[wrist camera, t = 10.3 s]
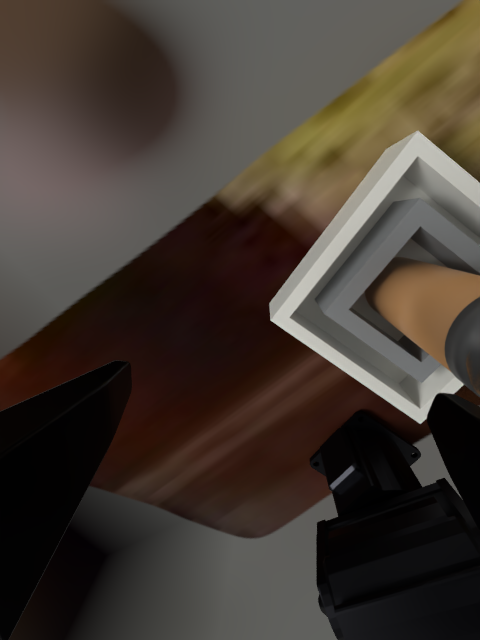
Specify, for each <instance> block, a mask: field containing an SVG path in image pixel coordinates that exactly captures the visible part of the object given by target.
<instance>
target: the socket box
mask: <svg viewBox="0 0 480 640" xmlns="http://www.w3.org/2000/svg"><path fill="white" fill-rule="evenodd" d="M395 257H405V258H410V259H414V260H418V261H422V262H426V263H431V264H435V265H439V266H443V267H447V268H451V269H455V270H459V271H463V272H467V273H472V274H476V275H480V183H479V182H478V181H477V180H476V179H475V178H474V177H472V176H471V175H470V174H469V173H468V172H466V171H465V170H464V169H463V168H462V167H460V166H459V165H458V164H457V163H456V162H454V161H453V160H452V159H451V158H450V157H449V156H447V155H446V154H445V153H444V152H443V151H441V150H440V149H439V148H438V147H437V146H435V145H434V144H433V143H432V142H431V141H430V140H428V139H427V138H426V137H425V136H424V135H422V134H421V133H420V132H419V131H416V132H414V133H413V134H411V135H409V136H407V137H406V138H404V139H402V140H401V141H399V142H397V143H396V144H394V145H392V146H390V147H389V148H387V149H386V150H385V151H384V153H383V154H382V155H381V157H380V158H379V159H378V161H377V162H376V163H375V165H374V166H373V167H372V169H371V170H370V171H369V172H368V174H367V175H366V176H365V178H364V179H363V180H362V182H361V183H360V184H359V186H358V187H357V188H356V190H355V191H354V192H353V194H352V195H351V196H350V198H349V199H348V200H347V202H346V203H345V204H344V205H343V207H342V208H341V209H340V211H339V212H338V213H337V215H336V216H335V217H334V219H333V220H332V221H331V223H330V224H329V225H328V227H327V228H326V229H325V231H324V232H323V233H322V235H321V236H320V237H319V239H318V240H317V241H316V242H315V244H314V245H313V246H312V248H311V249H310V250H309V252H308V253H307V254H306V256H305V257H304V258H303V260H302V261H301V262H300V264H299V265H298V266H297V268H296V269H295V270H294V272H293V273H292V274H291V275H290V277H289V278H288V279H287V281H286V282H285V283H284V285H283V286H282V287H281V289H280V290H279V291H278V293H277V294H276V295H275V297H274V298H273V299H272V301H271V302H270V303H269V305H270V319H271V321H272V322H274V323H275V324H277V325H278V326H279V327H281V328H282V329H284V330H285V331H287V332H288V333H290V334H291V335H292V336H294V337H295V338H297V339H298V340H300V341H301V342H303V343H304V344H305V345H307V346H308V347H310V348H311V349H313V350H314V351H316V352H317V353H318V354H320V355H321V356H323V357H324V358H326V359H327V360H329V361H330V362H331V363H333V364H334V365H336V366H337V367H339V368H340V369H342V370H343V371H345V372H346V373H347V374H349V375H350V376H352V377H353V378H355V379H356V380H358V381H359V382H360V383H362V384H363V385H365V386H366V387H368V388H369V389H371V390H372V391H373V392H375V393H376V394H378V395H379V396H381V397H382V398H384V399H385V400H386V401H388V402H389V403H391V404H392V405H394V406H395V407H397V408H398V409H399V410H401V411H402V412H404V413H405V414H407V415H408V416H410V417H411V418H412V419H414V420H415V421H417V422H418V423H420V424H421V423H422V422H423V421H424V420H425V419H427V414H428V412H429V409H430V407H431V405H432V402H433V400H434V397H435V396H436V395H437V394H438V393H450V394H454V393H455V392H456V391H457V390H459V389H460V388H461V387H462V386H463V385H464V384H463V383H462V382H461V381H459V380H458V379H457V378H456V377H455V376H454V375H453V373H452V372H450V371H449V370H448V369H447V368H445V367H444V366H443V365H442V364H440V363H439V362H438V361H437V360H435V359H434V358H433V357H432V356H430V355H429V354H428V353H427V352H425V351H424V350H423V349H422V348H420V347H419V346H418V345H417V344H416V343H414V342H413V341H412V340H411V339H409V338H408V337H407V336H406V335H404V334H403V333H402V332H401V331H399V330H398V329H397V328H396V327H394V326H393V325H392V324H391V323H389V322H388V321H387V320H386V319H384V318H383V317H382V316H381V315H379V314H378V313H377V312H376V311H375V310H373V309H372V308H371V307H370V305H369V304H368V302H367V300H366V296H365V290H366V289H367V288H368V287H369V285H370V284H371V283H372V282H373V281H374V280H375V278H376V277H377V276H378V275H379V274H380V273H381V272H382V270H383V269H384V268H385V267H386V266H387V265H388V263H389V262H390V261H391V260H392V259H393V258H395Z"/></svg>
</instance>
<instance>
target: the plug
mask: <svg viewBox="0 0 480 640" xmlns="http://www.w3.org/2000/svg"><path fill="white" fill-rule="evenodd" d="M365 296H366V300H367V302H368V304H369V305H370V307H371V308H372V309H373V310H375V311H376V312H377V313H378V314H379V315H381V316H382V317H383V318H384V319H386V320H387V321H388V322H389V323H391V324H392V325H393V326H394V327H396V328H397V329H398V330H399V331H401V332H402V333H403V334H404V335H406V336H407V337H408V338H409V339H411V340H412V341H413V342H414V343H416V344H417V345H418V346H419V347H420V348H422V349H423V350H424V351H425V352H427V353H428V354H429V355H430V356H432V357H433V358H434V359H435V360H437V361H438V362H439V363H440V364H442V365H443V366H444V367H445V368H447V369H448V370H449V371H450V372H452V373H453V375H454V376H455V377H456V378H457V379H458V380H459V381H461V382H462V383H463V384H464V385H465V386H467V387H468V388H469V389H470V390H472V391H473V392H474V393H475V394H477V395H478V396H479V397H480V275H476V274H472V273H467V272H463V271H459V270H455V269H451V268H447V267H443V266H439V265H435V264H431V263H426V262H422V261H418V260H414V259H410V258H405V257H395V258H393V259H392V260H391V261H390V262H389V263H388V265H387V266H386V267H385V268H384V269H383V270H382V272H381V273H380V274H379V275H378V276H377V277H376V278H375V280H374V281H373V282H372V283H371V284H370V285H369V287H368V288H367V289H366V290H365Z"/></svg>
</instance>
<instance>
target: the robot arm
mask: <svg viewBox="0 0 480 640" xmlns="http://www.w3.org/2000/svg"><path fill="white" fill-rule="evenodd" d="M131 389H132V379H131V365H130V363H129V362H127V361H113V362H111V363H108V364H106V365H104V366H102V367H99V368H97V369H95V370H93V371H90V372H88V373H86V374H84V375H81V376H79V377H77V378H75V379H72V380H70V381H68V382H66V383H63V384H61V385H59V386H57V387H54V388H52V389H50V390H48V391H45V392H43V393H41V394H39V395H36V396H34V397H32V398H30V399H27V400H25V401H23V402H21V403H18V404H16V405H14V406H12V407H9V408H7V409H5V410H3V411H0V640H9V637H10V636H11V634H12V632H13V630H14V628H15V626H16V624H17V622H18V621H19V619H20V617H21V615H22V613H23V611H24V609H25V607H26V605H27V603H28V601H29V599H30V598H31V595H32V594H33V592H34V590H35V588H36V586H37V584H38V582H39V580H40V578H41V576H42V575H43V573H44V571H45V569H46V567H47V565H48V563H49V561H50V559H51V557H52V555H53V553H54V552H55V550H56V548H57V546H58V544H59V542H60V540H61V538H62V536H63V534H64V532H65V531H66V528H67V527H68V525H69V523H70V521H71V519H72V517H73V515H74V513H75V511H76V509H77V508H78V506H79V504H80V502H81V500H82V498H83V496H84V494H85V492H86V490H87V488H88V486H89V485H90V483H91V481H92V479H93V477H94V475H95V473H96V471H97V469H98V467H99V465H100V463H101V462H102V460H103V458H104V456H105V454H106V452H107V450H108V448H109V446H110V444H111V442H112V440H113V438H114V435H115V433H116V430H117V428H118V425H119V422H120V420H121V417H122V415H123V412H124V409H125V407H126V404H127V402H128V399H129V396H130V394H131ZM359 417H363V418H362V419H358V418H359ZM427 423H428V426H429V428H430V430H431V433H432V435H433V438H434V440H435V442H436V445H437V447H438V449H439V452H440V454H441V457H442V459H443V461H444V464H445V466H446V468H447V470H448V473H449V475H450V477H451V479H452V481H453V482H454V484H455V486H456V488H457V490H458V492H459V494H460V495H461V497H462V499H463V500H462V499H461V498H460V496H459V495H458V494H457V493H456V491H455V490H454V489H453V488H452V486H451V485H450V484H449V483H448V481H447V480H446V479H445V478H442V479H439V480H437V481H436V483H433V484H431V485H428V486H425V487H422V486H421V484H420V482H419V481H418V479H417V477H416V476H415V474H414V472H413V471H412V469H411V468H410V466H411V465H412V464H413V463H414V462H415V461H417V460H418V459H419V458H420V457H421V453H420V451H419V450H418V449H417V448H416V447H415V446H413V445H412V444H410V443H409V442H407V441H406V440H404V439H403V438H402V437H400V436H399V435H397V434H396V433H394V432H393V431H391V430H390V429H388V428H387V427H385V426H384V425H382V424H381V423H379V422H378V421H376V420H375V419H373V418H372V417H371V416H369V415H368V414H366V413H365V412H363V411H358V412H356V413H355V414H354V415H353V416H352V417H351V418H350V419H349V420H348V421H347V422H346V423H345V424H344V425H343V426H342V427H341V428H339V429H338V430H337V431H336V432H335V433H334V434H333V435H332V436H331V437H330V438H329V439H328V440H327V441H326V442H325V443H324V444H323V445H322V446H321V447H320V449H319V450H318V451H317V452H316V453H315V454H314V455H313V456H312V457H311V458H310V465H311V467H312V468H314V469H315V470H317V471H318V472H320V473H321V474H323V475H325V476H326V478H327V482H328V486H329V489H330V490H331V491H332V494H333V497H334V501H335V505H336V509H337V513H338V517H336V518H333V519H331V520H328V521H325V520H322V521H320V522H318V523H317V587H318V591H319V597H318V602H319V606H320V609H321V611H322V612H323V613H324V614H325V615H326V616H327V617H328V619H329V622H330V624H331V626H332V629H333V631H334V633H335V636H336V638H337V639H338V640H480V407H479V406H477V405H475V404H473V403H471V402H469V401H467V400H465V399H463V398H461V397H459V396H457V395H455V394H450V393H438V394H437V395H436V396H435V397H434V400H433V402H432V405H431V407H430V409H429V412H428V414H427ZM412 453H414V454H412ZM314 462H317V463H314Z"/></svg>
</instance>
